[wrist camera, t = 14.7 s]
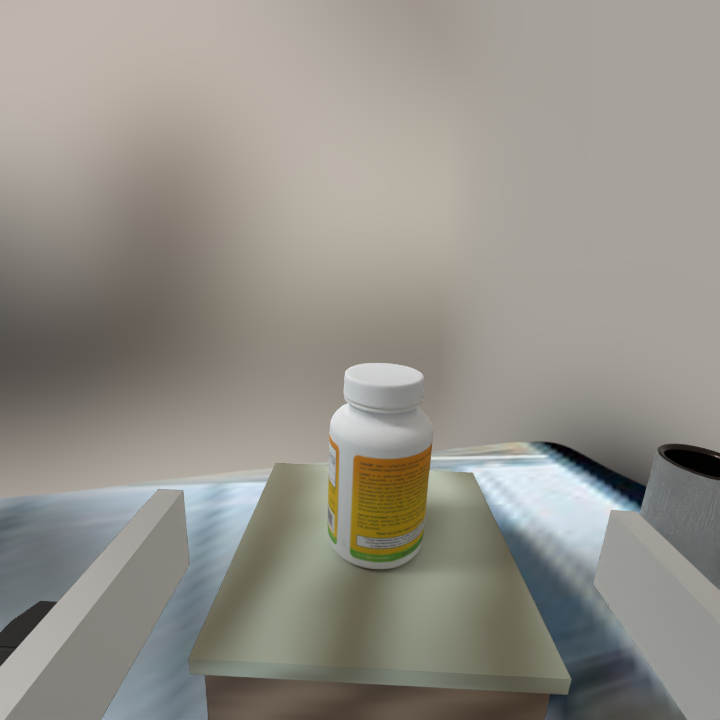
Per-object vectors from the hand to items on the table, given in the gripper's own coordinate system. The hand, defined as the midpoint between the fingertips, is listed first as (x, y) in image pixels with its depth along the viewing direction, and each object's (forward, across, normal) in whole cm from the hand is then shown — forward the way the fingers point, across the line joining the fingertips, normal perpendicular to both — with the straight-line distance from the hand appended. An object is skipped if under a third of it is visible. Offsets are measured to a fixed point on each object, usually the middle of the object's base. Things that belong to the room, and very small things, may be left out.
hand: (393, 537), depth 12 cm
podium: (+9, 0, -13) cm, 15 cm away
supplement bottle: (+9, 0, -7) cm, 11 cm away
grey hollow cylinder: (+10, +19, -13) cm, 25 cm away
